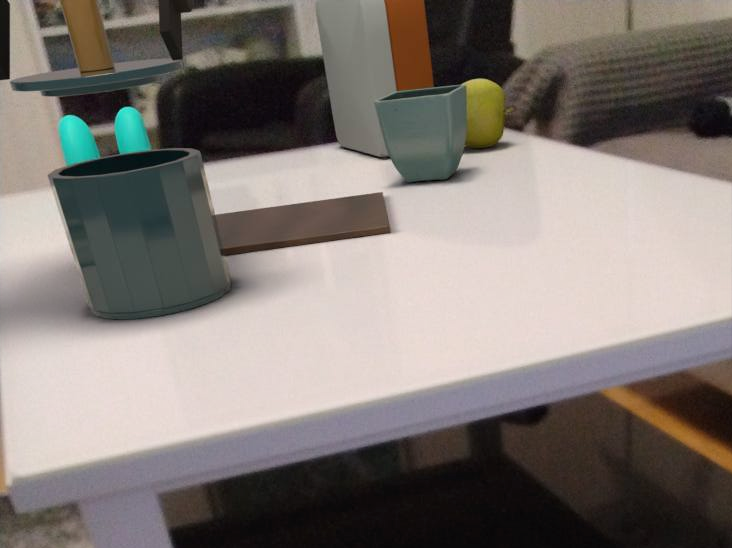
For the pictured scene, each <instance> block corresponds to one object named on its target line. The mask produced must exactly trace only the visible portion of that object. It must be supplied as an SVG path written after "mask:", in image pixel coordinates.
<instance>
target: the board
mask: <svg viewBox="0 0 732 548" xmlns="http://www.w3.org/2000/svg"><path fill="white" fill-rule="evenodd" d="M215 216H216V220H217V225H218V229H219V233H220V237H221V242H222V246H223V250H224V254H225V256H228V255H236V254H242V253H251V252H257V251H265V250H273V249H280V248H286V247H293V246H302V245H308V244H315V243H323V242H329V241H330V242H331V241H338V240H345V239H346V240H347V239H352V238H353V239H354V238H360V237H367V236H375V235H381V234H382V235H383V234H389V233H391V227H390V221H389V217H388V216H389V215H388V211H387V206H386V202H385V197H384V192H383V191H379V192H373V193H365V194H358V195H351V196H350V195H349V196H342V197H335V198H327V199H320V200H319V199H318V200H312V201H306V202H297V203H291V204H283V205H276V206H269V207H262V208H254V209H247V210H238V211H233V212H224V213H217V214H216V213H215Z"/></svg>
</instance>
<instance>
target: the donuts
mask: <svg viewBox="0 0 732 548" xmlns="http://www.w3.org/2000/svg"><path fill="white" fill-rule="evenodd" d="M114 134H115V140H116V144H117V149H118V154H124V153H131V152H139V151H146V150H152V145H151V143H150V139H149V136H148V132H147V129H146V124H145V122H144V119H143V116H142V115H141V113H140V112H139V111H138V110H137V109H136V108H134V107H132V106H124V107H122V108H120V109H119V111H118V112H117V113H116V116H115V118H114ZM58 135H59V141H60V145H61V150H62V154H63V157H64V161H65V165H66V166H68V165H71V164H75V163H79V162H83V161H88V160H92V159H96V158H101V155H100V152H99V149H98V145H97V143H96V139H95V136H94V135H93V132H92V130H91V129H90V127H89V126H88V125H87V123H86V122H85V121H84V120H83V119H82V118H80V117H79V116H76V115H74V114H68V115H64V116H63V117H62V118H61V119H60V121H59V123H58Z"/></svg>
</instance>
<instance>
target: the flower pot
mask: <svg viewBox="0 0 732 548" xmlns="http://www.w3.org/2000/svg"><path fill="white" fill-rule="evenodd" d="M374 104H375V108H376V112H377V116H378V120H379V124H380V128H381V132H382V136H383V139H384V143H385V146H386V149H387V152H388V154H389V157H388V158H390V159H389V160H390V161H391V162H392V164H393V166H394V168H395V169H396V171H397V172H398V174H399V175H400V176H401V177H402V179H403V180H404V181H405V182H406V183H415V182H423V181H433V180H435V181H436V180H440V181H445V180H447V179H449V178H451V176H452V175H453V174H454V173H456V172H457V171H458V168H459V166H460V163H461V160H462V157H463V152H464V150H465V139H466V130H467V90H466V85H461V84H456V85H455V84H454V85H445V86H434V88H425V89H416V90H406V91H398V92H393V93H391V94H389V95H387V96H384V97H382V98H380V99H378V100H376V101H374Z"/></svg>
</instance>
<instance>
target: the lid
mask: <svg viewBox="0 0 732 548" xmlns="http://www.w3.org/2000/svg"><path fill="white" fill-rule="evenodd" d="M59 4H60V7H61V11H62V14H63V18H64V21H65V24H66V29H67V32H68V36H69V39H70V43H71V47H72V50H73V54H74V57H75V62H76V65H77V67H73V68H67V69H61V70H53V71H48V72H42V73H38V74H32V75H27V76H22V77H18V78H14V79H12V80H11V79H10V81H9V84H10V87H11V90H12V91H13V92H16V93H17V92H18V93H19V92H20V93H26V92H27V93H28V92H40V95H41V97H43V98H57V97H59V98H60V97H72V96H81V95H82V96H83V95H89V94H90V95H91V94H98V93H99V94H100V93H106V92H107V93H108V92H114V91H120V90H126V89H132V88H137V87H142V86H148V85H151V84H155V83H158V82H160V81H161V80H162V77H161V76H162V75H167V74H170V73H175V72H179V71H181V70H183V69H184V68H185V66H184V62H183V60H174V61H173V60H172V58H171V57H168V58H167V57H166V58H163V57H162V58H151V59H150V58H149V59H139V60H138V59H137V60H130V61H129V60H128V61H121V62H115V61H114V58H113V55H112V51H111V47H110V43H109V39H108V35H107V32H106V27H105V24H104V20H103V16H102V11H101V9H100V5H99V0H59Z"/></svg>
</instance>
